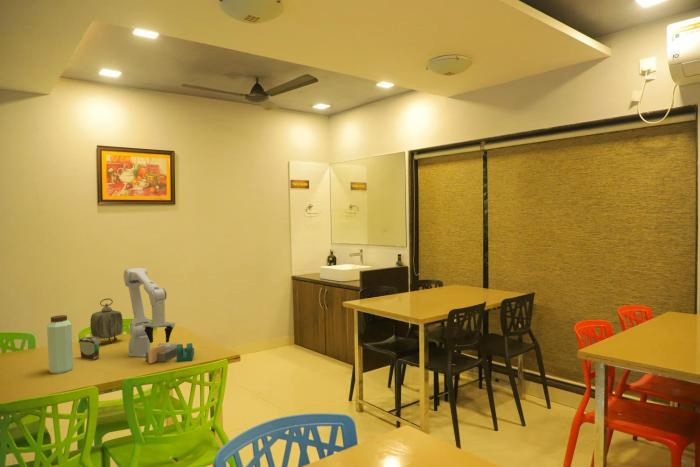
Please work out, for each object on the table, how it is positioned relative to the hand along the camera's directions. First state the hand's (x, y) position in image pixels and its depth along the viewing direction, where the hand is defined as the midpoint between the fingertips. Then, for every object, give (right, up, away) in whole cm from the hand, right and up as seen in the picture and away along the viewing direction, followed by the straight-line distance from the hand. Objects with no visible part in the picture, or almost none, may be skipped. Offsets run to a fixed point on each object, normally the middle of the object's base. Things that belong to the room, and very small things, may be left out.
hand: (159, 342), depth 226 cm
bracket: (+10, -9, +9) cm, 16 cm away
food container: (-37, -10, +10) cm, 40 cm away
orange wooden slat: (-2, -9, +2) cm, 9 cm away
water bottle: (-41, -11, -10) cm, 44 cm away
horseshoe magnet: (-1, -9, +7) cm, 11 cm away
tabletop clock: (-44, -9, +38) cm, 59 cm away
